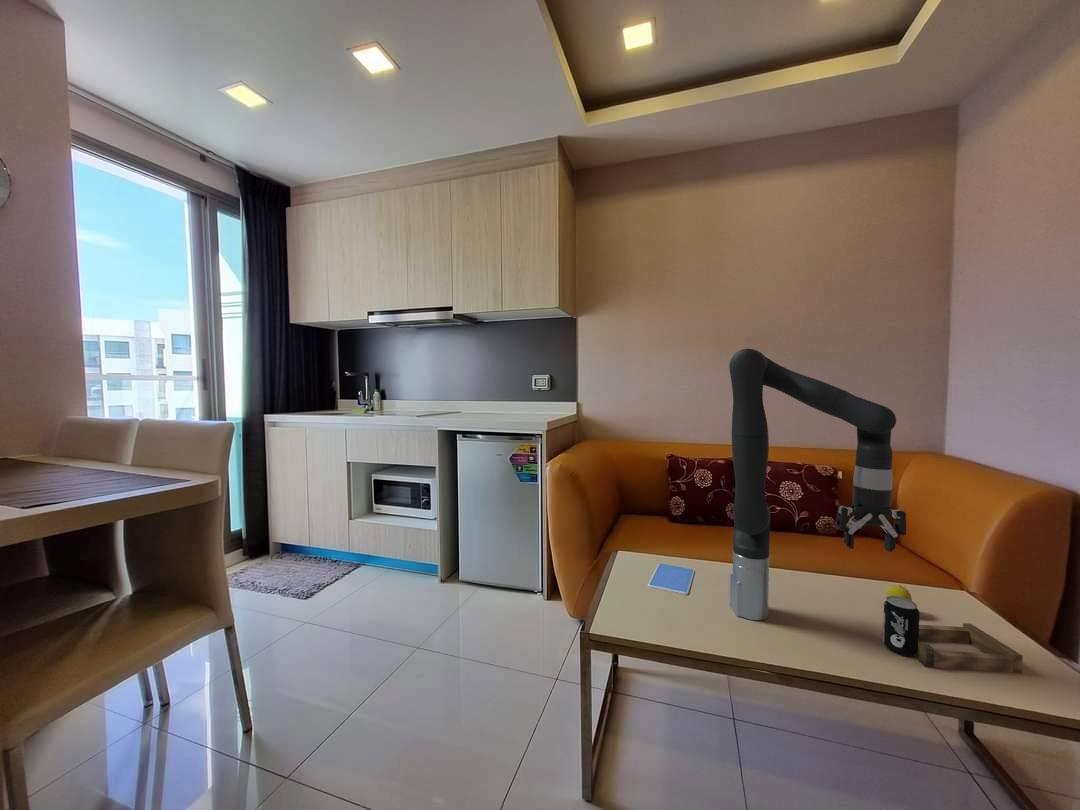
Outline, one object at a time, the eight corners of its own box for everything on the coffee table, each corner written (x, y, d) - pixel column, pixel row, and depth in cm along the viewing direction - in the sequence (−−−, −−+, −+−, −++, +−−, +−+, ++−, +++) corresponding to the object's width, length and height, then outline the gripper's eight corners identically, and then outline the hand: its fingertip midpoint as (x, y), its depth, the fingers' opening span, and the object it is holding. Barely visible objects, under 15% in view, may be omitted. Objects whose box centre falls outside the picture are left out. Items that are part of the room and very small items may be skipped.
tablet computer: (658, 565, 151) (658, 562, 151) (695, 572, 146) (695, 568, 146) (647, 588, 134) (647, 584, 134) (688, 597, 129) (688, 593, 128)
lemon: (880, 607, 121) (881, 580, 120) (898, 606, 121) (899, 579, 121) (898, 618, 115) (899, 590, 115) (916, 617, 116) (917, 589, 115)
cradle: (925, 666, 95) (925, 648, 95) (886, 634, 108) (886, 617, 108) (1021, 672, 93) (1022, 653, 93) (970, 638, 106) (970, 622, 106)
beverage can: (925, 659, 98) (926, 610, 97) (893, 656, 99) (894, 607, 99) (906, 642, 104) (908, 596, 104) (876, 639, 106) (878, 593, 105)
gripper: (847, 487, 100) (844, 552, 101) (916, 490, 97) (912, 558, 98) (832, 480, 107) (829, 541, 108) (895, 483, 105) (892, 545, 105)
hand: (868, 549), depth 103 cm, fingers open, 8 cm apart
